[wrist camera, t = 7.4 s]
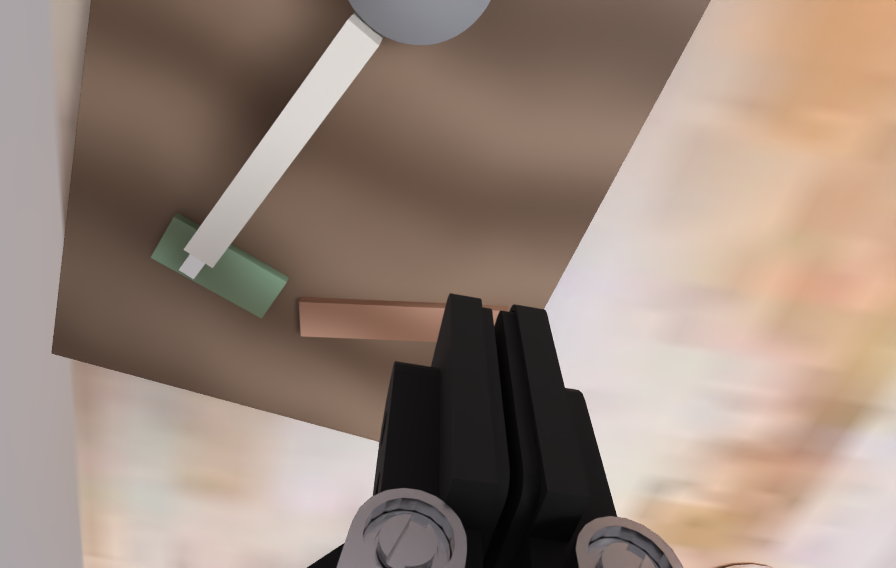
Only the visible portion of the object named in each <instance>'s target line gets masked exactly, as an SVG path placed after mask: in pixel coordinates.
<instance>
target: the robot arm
mask: <svg viewBox="0 0 896 568" xmlns="http://www.w3.org/2000/svg"><path fill="white" fill-rule="evenodd" d="M307 568H683V566H682V564H681V562H680V561H679V559H678V558H677V556H676V555H675V553H674V551H673V550H672V548H671V547H670V546H669V545H668V544H667V543H666V542H665V541H664V540H663V539H662V538H661V537H660V536H659V535H657V534H656V533H654V532H653V531H651V530H650V529H648V528H647V527H645V526H644V525H642V524H639V523H637V522H634V521H632V520H629V519H627V518H620V517H617V514H616V511H615V507H614V504H613V500H612V496H611V493H610V489H609V485H608V482H607V478H606V474H605V471H604V467H603V464H602V460H601V456H600V453H599V449H598V445H597V442H596V438H595V435H594V431H593V427H592V424H591V420H590V416H589V413H588V409H587V405H586V402H585V399H584V396H583V394H582V393H581V392H580V391H579V390H575V389H568V388H565V387H564V382H563V378H562V374H561V370H560V366H559V362H558V358H557V353H556V349H555V345H554V341H553V337H552V333H551V329H550V324H549V320H548V316H547V313H546V310H544V309H539V308H534V307H528V306H522V305H516V304H514V305H512V307H511V309H510V311H509V312H508V311H502V310H501V311H499V313H498V316H497V319H496V322H495V326H494V321H493V312H492V309H490V308H484V307H482V300H481V299H480V298H475V297H469V296H464V295H458V294H452V293H450V294H449V296H448V298H447V302H446V306H445V310H444V314H443V318H442V322H441V327H440V331H439V335H438V339H437V343H436V347H435V351H434V356H433V360H432V364H431V367H429V366H423V365H417V364H410V363H404V362H398V361H395V362H394V365H393V369H392V374H391V379H390V384H389V388H388V393H387V399H386V404H385V410H384V416H383V422H382V428H381V435H380V442H379V450H378V458H377V466H376V474H375V482H374V490H373V496H372V497H371V498H370V499H369V500H367V501H366V502H365V503H364V504H363V505H362V506H361V507H360V508H359V510H358V511H357V513H356V515H355V517H354V519H353V520H352V523H351V526H350V529H349V532H348V535H347V538H346V541H345V543H344V544H342V545H341V546H339V547H338V548H336V549H335V550H333V551H332V552H330V553H329V554H327V555H325V556H324V557H322V558H321V559H319V560H318V561H316V562H315V563H313V564H312V565H310V566H309V567H307Z"/></svg>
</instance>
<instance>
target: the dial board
mask: <svg viewBox="0 0 896 568" xmlns="http://www.w3.org/2000/svg"><path fill="white" fill-rule="evenodd" d="M710 1H711V0H491V1H490V2H489V4H488V6H487V8H486V9H485V10H484V12H483V13H482V15H481V16H480V17H479V18H478V19H477V20H476V21H475V22H474V23H473V24H472V25H471V26H470V27H469V28H468V29H466V30H465V31H464V32H462V33H460V34H459V35H457V36H455V37H453V38H451V39H449V40H447V41H443V42H440V43H437V44H430V45H410V44H405V43H401V42H397V41H394V40H392V39H389V38H387V37H385V36H383V38H382V41H381V43H380V45H379V47H378V48H377V49H376V51H375V52H374V53H373V55H372V56H371V57H370V59H369V60H368V61H367V63H366V64H365V65H364V67H363V68H362V69H361V71H360V72H359V73H358V75H357V76H356V77H355V79H354V80H353V81H352V83H351V84H350V85H349V87H348V88H347V89H346V91H345V92H344V93H343V95H342V96H341V97H340V99H339V100H338V101H337V103H336V104H335V105H334V107H333V108H332V109H331V111H330V112H329V113H328V115H327V116H326V117H325V119H324V120H323V121H322V123H321V124H320V125H319V127H318V128H317V129H316V131H315V132H314V133H313V135H312V136H311V137H310V139H309V140H308V142H307V143H306V144H305V146H304V147H303V148H302V150H301V151H300V152H299V154H298V155H297V156H296V158H295V159H294V160H293V162H292V163H291V164H290V166H289V167H288V168H287V170H286V171H285V172H284V174H283V175H282V176H281V178H280V179H279V180H278V182H277V183H276V184H275V186H274V187H273V188H272V190H271V191H270V192H269V194H268V195H267V196H266V198H265V199H264V200H263V202H262V203H261V204H260V206H259V207H258V208H257V210H256V211H255V212H254V214H253V215H252V216H251V218H250V219H249V220H248V222H247V223H246V224H245V226H244V227H243V228H242V230H241V231H240V232H239V234H238V235H237V236H236V238H235V239H234V240H233V242H232V243H231V244H230V246H229V247H228V248H227V250H226V251H225V252H224V254H223V255H222V256H221V258H220V259H219V260H218V262H217V263H216V264H215V266H214V267H213V268H212V267H210V266H208V265H207V264H205V265H204V266H203V267H202V269H201V270H200V271H199V273H198V274H197V276H196V277H195V278H194V279H192V278H191V277H189V276H187V275H186V274H184V273H183V272H181V271H179V269H180V267H181V266H182V265H183V263H184V262H185V260H186V259H187V258H188V256H189V255H190V254H189V253H188V252H186V251H185V250H184V248H185V247H186V245H187V244H188V243H189V241H190V240H191V238H192V237H193V236H194V234H195V233H196V231H197V230H198V229H199V227H200V226H201V224H202V223H203V222H204V220H205V219H206V217H207V216H208V215H209V213H210V212H211V210H212V209H213V208H214V206H215V205H216V203H217V202H218V201H219V199H220V198H221V196H222V195H223V194H224V192H225V191H226V189H227V188H228V187H229V185H230V184H231V182H232V181H233V180H234V178H235V177H236V175H237V174H238V173H239V171H240V170H241V168H242V167H243V166H244V164H245V163H246V161H247V160H248V159H249V157H250V156H251V154H252V153H253V152H254V150H255V149H256V147H257V146H258V145H259V143H260V142H261V140H262V139H263V138H264V136H265V135H266V133H267V132H268V131H269V129H270V128H271V126H272V125H273V124H274V122H275V121H276V119H277V118H278V117H279V115H280V114H281V112H282V111H283V110H284V108H285V107H286V105H287V104H288V103H289V101H290V100H291V98H292V97H293V96H294V94H295V93H296V91H297V90H298V89H299V87H300V86H301V84H302V83H303V82H304V80H305V79H306V77H307V76H308V75H309V73H310V72H311V70H312V69H313V68H314V66H315V65H316V63H317V62H318V61H319V59H320V58H321V56H322V55H323V54H324V52H325V51H326V49H327V48H328V47H329V45H330V44H331V42H332V41H333V40H334V38H335V37H336V35H337V34H338V33H339V31H340V30H341V28H342V27H343V26H344V24H345V23H346V21H347V20H348V19H349V18H350V17H351V16H352V15H353V14H354V13H355V12H356V11H355V10H354V9H353V7H352V5H351V4H350V2H349V1H348V0H91V6H90V15H89V24H88V32H87V41H86V50H85V59H84V68H83V77H82V86H81V95H80V104H79V113H78V122H77V131H76V140H75V149H74V158H73V166H72V175H71V184H70V193H69V202H68V211H67V220H66V229H65V238H64V247H63V256H62V265H61V274H60V284H59V292H58V301H57V309H56V319H55V328H54V336H53V345H52V354H55V355H59V356H63V357H67V358H70V359H74V360H78V361H81V362H85V363H89V364H93V365H96V366H100V367H104V368H107V369H111V370H115V371H119V372H122V373H126V374H130V375H133V376H137V377H141V378H145V379H148V380H152V381H156V382H159V383H163V384H167V385H170V386H174V387H178V388H182V389H185V390H189V391H193V392H196V393H200V394H204V395H208V396H211V397H215V398H219V399H222V400H226V401H230V402H234V403H237V404H241V405H245V406H248V407H252V408H256V409H260V410H263V411H267V412H271V413H274V414H278V415H282V416H286V417H289V418H293V419H297V420H300V421H304V422H308V423H311V424H315V425H319V426H323V427H326V428H330V429H334V430H337V431H341V432H345V433H349V434H352V435H356V436H360V437H363V438H367V439H371V440H375V441H378V442H380V435H381V428H382V422H383V416H384V410H385V404H386V399H387V393H388V388H389V384H390V379H391V374H392V369H393V365H394V362H395V361H398V362H404V363H410V364H417V365H423V366H429V367H431V364H432V360H433V356H434V351H435V347H436V343H437V339H438V335H439V331H440V327H441V322H442V318H443V314H444V310H445V306H446V302H447V298H448V296H449V294H450V293H452V294H458V295H464V296H469V297H475V298H480V299H481V300H482V307H484V308H490V309H492V312H493V321H494V326H495V322H496V319H497V316H498V313H499V311H501V310H502V311H508V312H509V311H510V309H511V307H512V305H514V304H516V305H522V306H528V307H534V308H539V309H544V308H545V306H546V304H547V302H548V300H549V298H550V297H551V295H552V293H553V291H554V289H555V287H556V286H557V284H558V282H559V280H560V278H561V276H562V274H563V273H564V271H565V269H566V267H567V265H568V263H569V261H570V260H571V258H572V256H573V254H574V252H575V250H576V249H577V247H578V245H579V243H580V241H581V239H582V237H583V236H584V234H585V232H586V230H587V228H588V226H589V224H590V223H591V221H592V219H593V217H594V215H595V213H596V212H597V210H598V208H599V206H600V204H601V202H602V200H603V199H604V197H605V195H606V193H607V191H608V189H609V187H610V186H611V184H612V182H613V180H614V178H615V176H616V175H617V173H618V171H619V169H620V167H621V165H622V163H623V162H624V160H625V158H626V156H627V154H628V152H629V150H630V149H631V147H632V145H633V143H634V141H635V139H636V138H637V136H638V134H639V132H640V130H641V128H642V126H643V125H644V123H645V121H646V119H647V117H648V115H649V113H650V112H651V110H652V108H653V106H654V104H655V102H656V101H657V99H658V97H659V95H660V93H661V91H662V89H663V88H664V86H665V84H666V82H667V80H668V78H669V77H670V75H671V73H672V71H673V69H674V67H675V65H676V64H677V62H678V60H679V58H680V56H681V54H682V52H683V51H684V49H685V47H686V45H687V43H688V41H689V40H690V38H691V36H692V34H693V32H694V30H695V28H696V27H697V25H698V23H699V21H700V19H701V17H702V15H703V14H704V12H705V10H706V8H707V6H708V4H709V3H710Z"/></svg>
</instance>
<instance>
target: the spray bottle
mask: <svg viewBox="0 0 896 568" xmlns="http://www.w3.org/2000/svg"><path fill="white" fill-rule="evenodd" d="M726 568H770V567H768V566H761V565H755V564H746V565H733V566H729V567H726Z"/></svg>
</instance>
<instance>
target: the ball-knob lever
mask: <svg viewBox="0 0 896 568" xmlns="http://www.w3.org/2000/svg"><path fill="white" fill-rule="evenodd" d="M348 1H349V2H350V4H351V5H352V7H353V9H354V10H355V11H356V12H355V13H354V14H353V15H352V16H351V17H350V18H349V19H348V20H347V21H346V23H345V24H344V26H343V27H342V28H341V30H340V31H339V33H338V34H337V35H336V37H335V38H334V40H333V41H332V42H331V44H330V45H329V47H328V48H327V49H326V51H325V52H324V54H323V55H322V56H321V58H320V59H319V61H318V62H317V63H316V65H315V66H314V68H313V69H312V70H311V72H310V73H309V75H308V76H307V77H306V79H305V80H304V82H303V83H302V84H301V86H300V87H299V89H298V90H297V91H296V93H295V94H294V96H293V97H292V98H291V100H290V101H289V103H288V104H287V105H286V107H285V108H284V110H283V111H282V112H281V114H280V115H279V117H278V118H277V119H276V121H275V122H274V124H273V125H272V126H271V128H270V129H269V131H268V132H267V133H266V135H265V136H264V138H263V139H262V140H261V142H260V143H259V145H258V146H257V147H256V149H255V150H254V152H253V153H252V154H251V156H250V157H249V159H248V160H247V161H246V163H245V164H244V166H243V167H242V168H241V170H240V171H239V173H238V174H237V175H236V177H235V178H234V180H233V181H232V182H231V184H230V185H229V187H228V188H227V189H226V191H225V192H224V194H223V195H222V196H221V198H220V199H219V201H218V202H217V203H216V205H215V206H214V208H213V209H212V210H211V212H210V213H209V215H208V216H207V217H206V219H205V220H204V222H203V223H202V224H201V226H200V227H199V229H198V230H197V231H196V233H195V234H194V236H193V237H192V238H191V240H190V241H189V243H188V244H187V245H186V247H185V248H184V250H185V251H186V252H188V253H189V254H190V255H189V256H188V258H187V259H186V260H185V262H184V263H183V265H182V266H181V267H180V269H179V271H181V272H183V273H184V274H186V275H187V276H189V277H191V278H192V279H194V278H195V277H196V276H197V274H198V273H199V271H200V270H201V269H202V267H203V266H204V265H205V264H207V265H208V266H210V267H212V268H213V267H214V266H215V264H216V263H217V262H218V260H219V259H220V258H221V256H222V255H223V254H224V252H225V251H226V250H227V248H228V247H229V246H230V244H231V243H232V242H233V240H234V239H235V238H236V236H237V235H238V234H239V232H240V231H241V230H242V228H243V227H244V226H245V224H246V223H247V222H248V220H249V219H250V218H251V216H252V215H253V214H254V212H255V211H256V210H257V208H258V207H259V206H260V204H261V203H262V202H263V200H264V199H265V198H266V196H267V195H268V194H269V192H270V191H271V190H272V188H273V187H274V186H275V184H276V183H277V182H278V180H279V179H280V178H281V176H282V175H283V174H284V172H285V171H286V170H287V168H288V167H289V166H290V164H291V163H292V162H293V160H294V159H295V158H296V156H297V155H298V154H299V152H300V151H301V150H302V148H303V147H304V146H305V144H306V143H307V142H308V140H309V139H310V137H311V136H312V135H313V133H314V132H315V131H316V129H317V128H318V127H319V125H320V124H321V123H322V121H323V120H324V119H325V117H326V116H327V115H328V113H329V112H330V111H331V109H332V108H333V107H334V105H335V104H336V103H337V101H338V100H339V99H340V97H341V96H342V95H343V93H344V92H345V91H346V89H347V88H348V87H349V85H350V84H351V83H352V81H353V80H354V79H355V77H356V76H357V75H358V73H359V72H360V71H361V69H362V68H363V67H364V65H365V64H366V63H367V61H368V60H369V59H370V57H371V56H372V55H373V53H374V52H375V51H376V49H377V48H378V47H379V45H380V43H381V41H382V38H383V36H385V37H387V38H389V39H392V40H394V41H397V42H401V43H405V44H410V45H430V44H437V43H440V42H443V41H447V40H449V39H451V38H453V37H455V36H457V35H459V34H460V33H462V32H464V31H465V30H466V29H468V28H469V27H470V26H471V25H472V24H473V23H474V22H475V21H476V20H477V19H478V18H479V17H480V16H481V15H482V13H483V12H484V10H485V9H486V8H487V6H488V4H489V2H490V1H491V0H348Z"/></svg>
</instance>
